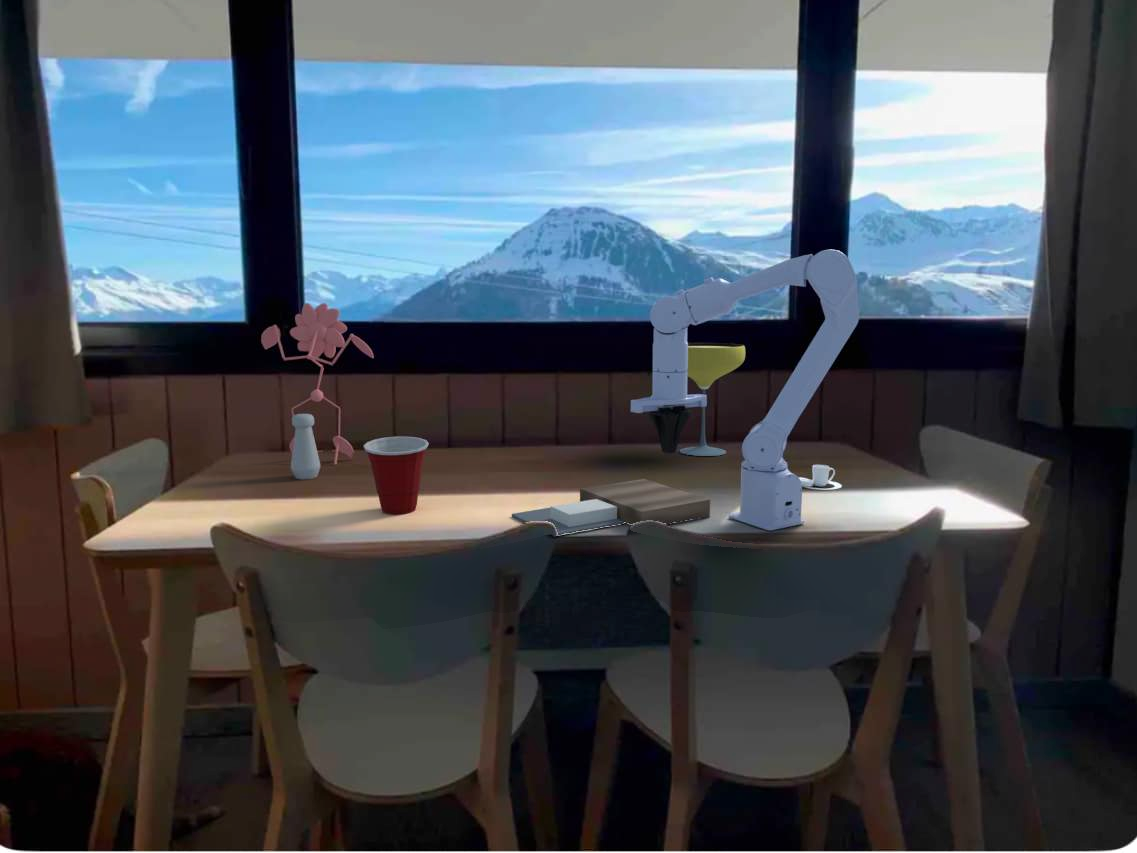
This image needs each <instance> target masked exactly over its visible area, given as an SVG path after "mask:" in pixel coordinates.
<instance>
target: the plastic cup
mask: <svg viewBox="0 0 1137 853" xmlns="http://www.w3.org/2000/svg"><path fill="white" fill-rule="evenodd" d="M429 443H430V442H428V440H426V439H423V438H421V437H414V436H390V437H389V436H387V437H382V438H375V439H373V440H370V441H366V443H365V444H363V448H364V450H365V452H366V453H367V456H368V459H369V463H370V465H371V471H372V474H373V479H374V483H375V484H374V485H375V489H376V493H377V494H378V499H379V500H378V501H379V504H380V505H379V506H380V509H381V511H382V513H384V514H388V515H405V514H411V513H412V512H414V511H416V509H417V506H418V498H419V491H420V486H421V480H422V470H423V464H424V460H425V455H426V451H427V448H428V446H429Z"/></svg>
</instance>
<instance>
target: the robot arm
mask: <svg viewBox="0 0 1137 853" xmlns="http://www.w3.org/2000/svg"><path fill="white" fill-rule="evenodd" d="M807 281H808V283H809V284H810V286H811V287H812V289H813V290H814V291H815V293H816V295H817V296H818V298H819V299H820V305H821V307H822V308H821V309H822V312H823V314H824V318H825V319H824V321H823V323H822V324H821V326H820V327H819V329H818V331H817V332H816V334H815V335H814V337H813V339H812V340H811V342H810V343H809V345H808V347H807V349H806V350H805V352H804V354H803V355H802V356H801V359H800V360H799V361H798V364H797V365H796V366H795V367H794V368H795V369H794V371H793V372H792V373H791V375H790V376H789V379H787V382H786V383H785V385H784V386H783V388H782V389H781V391H780V393H779V395H778V396H777V398H776V399H775V401H774V402H773V404H772V406H771V407H770V409H769V411H768V412H767V414H766V416H765V417H764V418H763V420H761V421H760V422H759V423H757V424H755V425H754V426H752V428H751V429H750V431H749V432H748V434H747V435H746V437H745V438H744V440H743V442H742V446H741V453H742V456H743V458H744V460H743V461H741V466H740V468H741V469H740V499H739V500H740V501H739V502H740V503H739V504H740V505H739V511H738V512H735V513H729V514H728V518H730V519H733V520H735V521H739V522H742V523H745V524H748V525H751V526H755V527H756V528H760V529H763V530H766V531H776V530H779V529H784V528H789V527H793V526H797V525H802V524H805V520H803V519H802V504H803V503H802V502H803V501H802V500H803V499H802V498H803V487H802V484H801V481H800V479H799V476H798V475H797V474H795V473H792V472H791V471H790V470H789V469H788V462H786V460H785V459H784V458H783V454H784V452H785V449H786V448H787V441H788V437H789V435H790V433H791V432H792V429H793V428H794V426H795V425H796V423H797V421H798V419H799V418H800V416H801V415H802V413H803V412H804V410H805V409H806V408H807V405H808V403H809V402H810V400H811V399H812V397H813V396H814V394H815V393H816V391H817V390H818V388H819V386H820V385H821V383H822V381H823V380H824V377H825V376H826V375H827V373H828V372H829V370H830V368H831V367H832V365H833V364H834V362H835V360H836V359H837V357H838V355H839V354H840V352H841V350H842V349H843V348H844V346H845V344H846V343H847V341H848V340H849V338H850V337H851V335H852V333H853V332H854V330H855V329H856V327H857V325H858V323H859V320H860V310H859V297H858V296H859V294H858V279H857V274H856V272H855V270H854V268H853V264H852V263H851V261H850V259H849V258H848V256H847V255H846V254H845V253H843V252H842V251H840V250H837V249H825V250H821V251H819V252H817V253H816V254H814V255H813V253H810V254H804V255H801V256H798V257H793V258H789V259H786V260H784V261H781V262H778V263H777V264H774V265H771V266H769V267H766V268H764V269H762V270H759V271H756V272H753V273H751V274H749V275H747V276H744V277H741V278H740V279H736V280H734V281H732V282H729V281H728V280H725V279H723V278H720V277H718V278H716V279H714V277H708V278H706V279H703V282H704V283H703V284H700V285H698V286H695V287H693V288H692V287H691V288H689V289H686V290H684V289H679V290H676V292H675V294H676V297H674V296H671V295H670V296H668V295H667V296H666V295H665V296H663V297H662V298H660V299H659V300H657V301H656V302H655V303H654V304H653V305H652V307H651V310H650V312H649V317H650V318H649V319H650V322H651V325H652V326H653V327H654V328H653V343H652V392H651V393H652V395H651V396H649V397H648V396H647V397H643V398H637V399H631V400H630V412H631V413H636V414H642V413H643V412H644V413H645V412H648V416H649V418H650V419H651V421H652V424H653V426H654V428H655V430H656V432H657V435H658V439H659V443H660V447H661V452H662V453H666V454H675V453H676V451H677V448H678V445H679V441H680V437H681V435H682V432H683V429H684V427H685V425H686V423H687V421H688V420H689V418H690V417H691V410H690V409H686V408H695V407H701V408H702V407H705V408H706V407H707V404H708V403H707V402H708V400H707V399H708V397H707V396H708V395H707V394H705V395H703V393H702V394H700V393H696V394H688V376H687V374H688V343H689V342H688V327H689V326H690V325H693V326H698V325H699V324H703V323H705V322H707V321H710V320H714V319H716V318H719V317H722V316H725V315H727V314H730V313H732V312H733V310H734V308H735V307H736V303H738V301H741V300H744V299H747V298H750V297H753V296H756V295H761V294H762V293H765V292H769V291H772V290H774V289H778V288H780V287H783V286H788V285H789V286H796V287H806V286H807Z"/></svg>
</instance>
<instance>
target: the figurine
mask: <svg viewBox="0 0 1137 853" xmlns="http://www.w3.org/2000/svg"><path fill="white" fill-rule="evenodd" d="M294 316H295V317H294V320H295V324H296V326H295V327H292V328H291V329H290V330H289V334H290V336H291V337H292V338H293V339H295V340H297V341H298V343H297V349H298V351H299V352H308V354H307V355H301V356H292V357H291V356H289V357H286V356H285V353H284V349H283V345H282V342H281V337H282V336H281V330H280V328H279V327H278V326H277V324H273V325H272V326H269V327H267V328H266V329H265V330H264V331H263V332H262V334H261V337H260V338H261V339H260V342H261V344H262V346H263V349H265V350H267V349H269V348H271V347H273V346H275V345H276V344H277V343H278V348H279V351H280V354H281V357H282V359H283V361H292V360H300V359H307V360H311V361H312V362H313V363H315V364H316V365H317V366H318V367H320V371H319V376H318V382H317V387H316V389H314V390H312V392H311V393H310V397H309V398H307V399H306V400H304V401H302V402H300V403H299V404H297V405H294V407H291V410H290V411H291V416H292V417H293V416H294V415H295V413H294V410H295V409H296V408H298V407H299V406H302V405H304V404H305V403H307V402H309V401H310V400H312V401H313V402H315V403H317V402H318V403H319V402H321V401H322V400H323V399H324V400H325V401H327V402H328V403H329V404H331V405H332V406H334V407H336V408H337V409H338V425H337V426H338V427H337V428H338V432H337V434H338V435H334V436H333V438H332V442H333V445H334V447H335V449H334V450H333V452H335V453H334V461H333V465H334V466H335V465H338V464H337V463H338V456H339V455H338V454H339V452H340V453H342V454H343V455H345V456H346V457H348V458H349V459H354V455H355V454H354V453H355V450H354V449H353V446H352V445H351V443H349V441H348V440H346V439H345V438H344V437H343V436H341V407H340V406H338V405H337V404H335V403H334V402H333V401H331V400H329V399H327V397H325V396H324V392H323V391H322V390H320V385H321V382H322V376H323V373H324V369H325V368H324V365H323V364H328V365H330V366H334V364H335V363H336V362H337V361H338V359H339V357H340V356H341V355H342V353H343V352H344V351H345V349H346V347H347V346H348V345H349V343H350V341H352V343H353V344H354V345H355V346H356V348H358V349H359V350H360V351H361V352H362V353H363V354H365V355H367V356H368V357H369V358H372V359H374V358H375V356H374V353H373V350H372V349H371V348H370V346H369V345H368V344H367V343H366V342H365V341H364V340H363V339H361V338H360V337H358V336H356V335H354V333H350V334H349V337H348V338H347V340H346V341H345V339H344V337H343V335H342V334H344V333H346V332H347V330H348V327H347V325H346V324H345V323H343V322H342V321H340V320H338V318H339V317H340V310H339V309H337V308H328V304H327V303H325V302H324V303H321V304H319V305H317V306H316V307H315V308H314V307H313V306H312V304H310V303H308V302H306V303H304V304H303V306H302V309H301V313H297V314H296V315H294ZM336 348H341V349H340V350H339V351H338V353H337V354H336V352H337V351H336V350H337V349H336ZM323 353H324V356H325V357H326V358H329V359H333V360H332V361H328V360H325V359H323V358H320V356H321V355H323ZM335 355H336V356H335ZM333 357H334V358H333ZM320 362H321V363H323V364H321V363H320ZM294 428H295V429H296V427H294ZM293 445H294V437H293V438H292V440H291V441H290V442H289V450H290V452H291V454H292V453H293ZM317 452H318V453H319V452H322V450H317ZM363 464H364V462H363V463H359V465H360V466H361V465H363Z"/></svg>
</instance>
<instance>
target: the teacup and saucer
mask: <svg viewBox="0 0 1137 853" xmlns="http://www.w3.org/2000/svg"><path fill="white" fill-rule="evenodd" d="M811 467H812V469H811V470H812V473H811V474H812V479H809V478H807V477H799V476H798V477H799V479H800V481H801V484H802V488H806V489H811V490H817V491H818V490H820V491H830V490H839V489H841V488H842V487H843V486H842V484H841V483H839V482H837V481H832V480H833V479H834V478H835V477H834V476H835V475H836V470H835V469H834V468H832V467H830V466H829V465H826V464H813V465H812V466H811ZM831 470H832V471H833V473H832V474H831V476H830V477H829V475H830V471H831ZM827 484H830V485H833V486H834V487H830V488H822V487H826V486H827ZM813 486H815V487H813ZM816 486H817V487H816ZM818 487H821V488H818Z"/></svg>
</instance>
